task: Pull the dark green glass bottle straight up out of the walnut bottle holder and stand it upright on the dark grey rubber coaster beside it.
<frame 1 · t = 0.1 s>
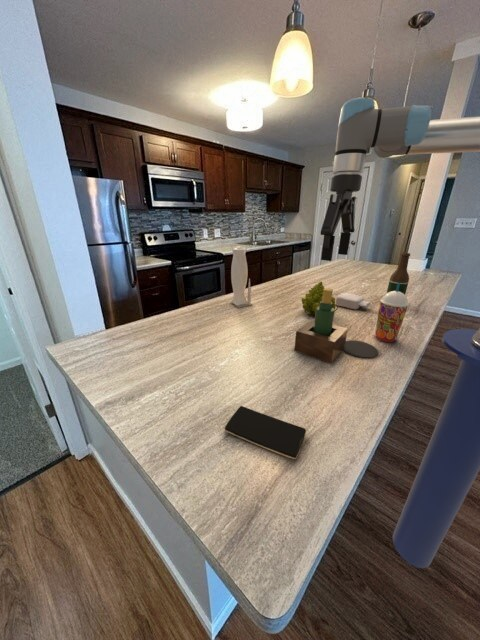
hand: (334, 257, 77), 29 cm above the countertop, tool pointing down, fingers open, 13 cm apart
vegetable: (315, 313, 114), on the countertop
holder: (319, 349, 84), on the countertop
charger: (354, 307, 122), on the countertop
bottle: (323, 320, 81), in the holder
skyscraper: (239, 304, 124), on the countertop
beer bottle: (393, 303, 128), on the countertop
smoothie: (384, 339, 92), on the countertop
smartphone: (264, 433, 52), on the countertop
coaster: (358, 349, 85), on the countertop
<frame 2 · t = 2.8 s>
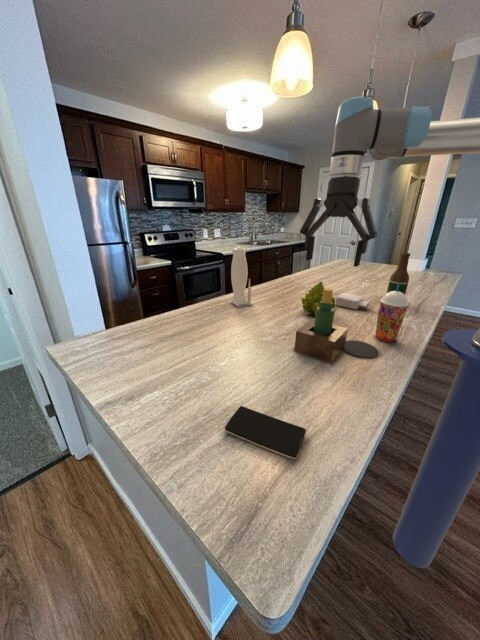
hand: (331, 262, 74), 28 cm above the countertop, tool pointing down, fingers open, 13 cm apart
nothing on the countertop moved.
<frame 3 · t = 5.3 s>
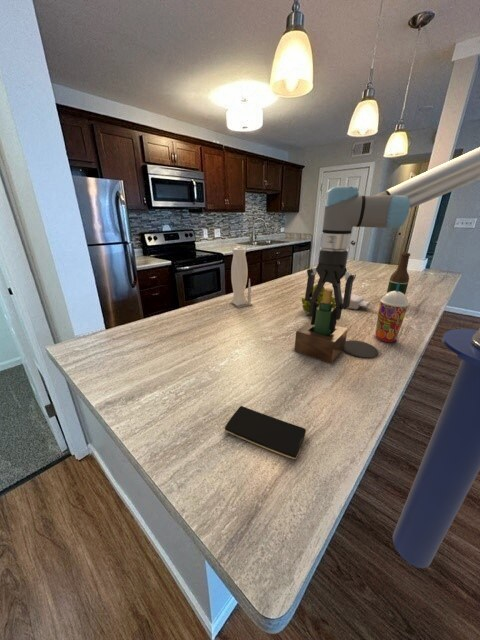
hand: (322, 325, 81), 8 cm above the countertop, tool pointing down, fingers closed on bottle, 5 cm apart
bottle: (323, 320, 81), in the holder, touching gripper
everything else where it was.
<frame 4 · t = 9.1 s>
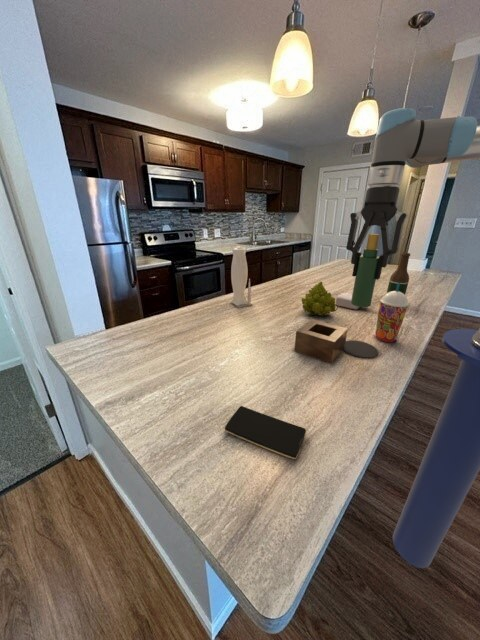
hand: (365, 276, 75), 24 cm above the countertop, tool pointing down, fingers closed on bottle, 5 cm apart
bottle: (367, 271, 75), point 26 cm above the countertop, touching gripper
everything else where it was.
when the fingers open (9 cm above the countertop, at t = 12.9 s): bottle stays where it is, resting on coaster.
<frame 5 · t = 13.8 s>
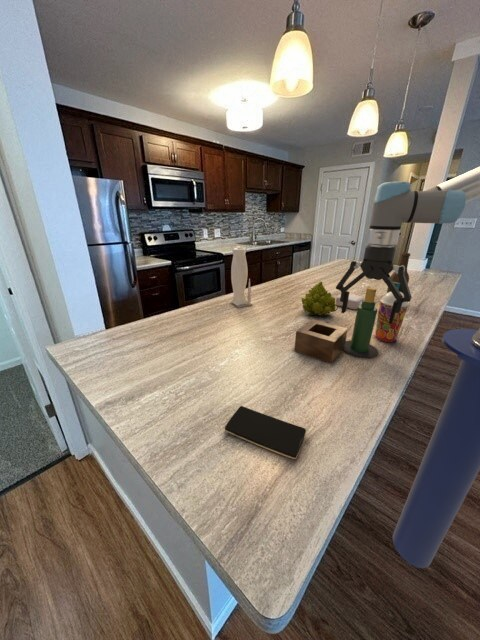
hand: (366, 317, 80), 11 cm above the countertop, tool pointing down, fingers open, 13 cm apart
bottle: (365, 319, 81), on the coaster
everything else where it was.
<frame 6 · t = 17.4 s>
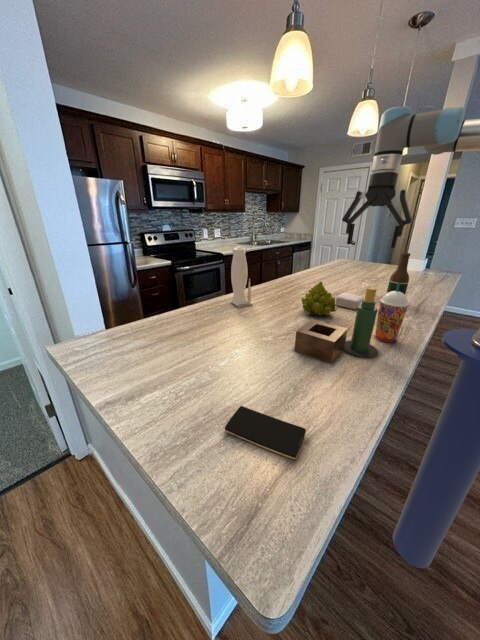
hand: (370, 245, 87), 31 cm above the countertop, tool pointing down, fingers open, 13 cm apart
nothing on the countertop moved.
at the end: bottle inside the target area (0.0 cm from its centre), resting on coaster; bottle tilted 0°; bottle touching coaster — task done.
